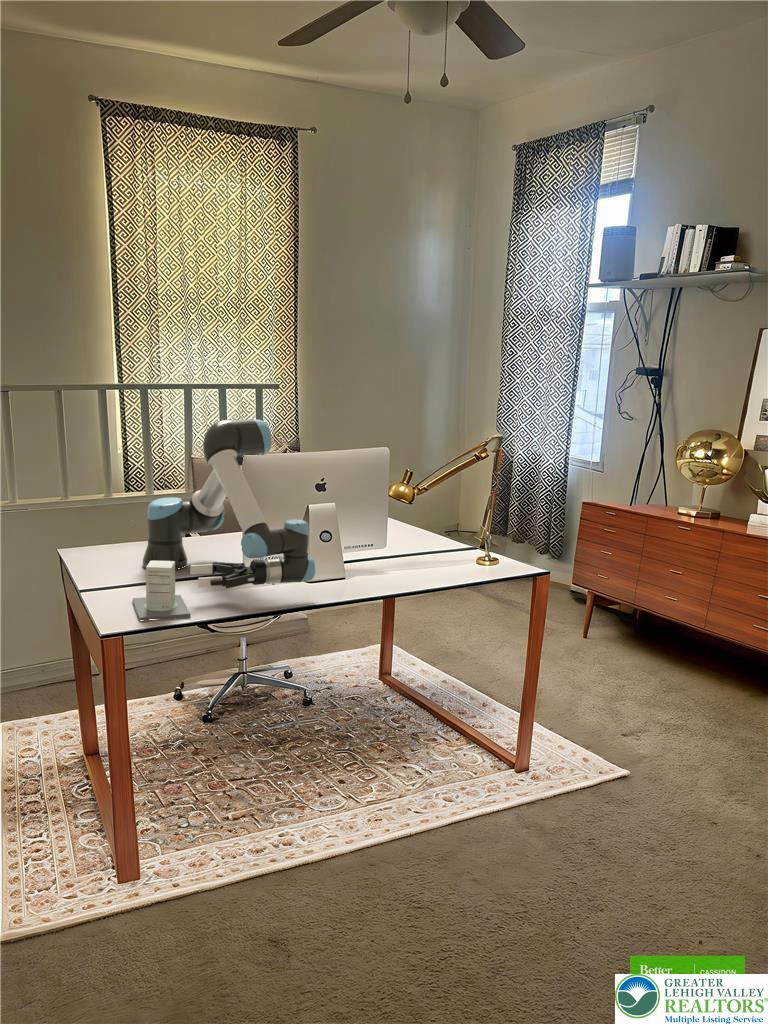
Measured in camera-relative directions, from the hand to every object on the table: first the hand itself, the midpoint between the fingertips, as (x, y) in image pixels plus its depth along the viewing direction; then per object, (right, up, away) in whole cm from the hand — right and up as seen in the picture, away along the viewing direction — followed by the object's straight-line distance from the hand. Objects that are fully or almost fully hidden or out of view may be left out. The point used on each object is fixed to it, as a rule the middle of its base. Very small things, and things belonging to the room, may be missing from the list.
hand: (194, 576), depth 235 cm
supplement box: (-9, -9, -2) cm, 13 cm away
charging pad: (-9, -10, -2) cm, 14 cm away
